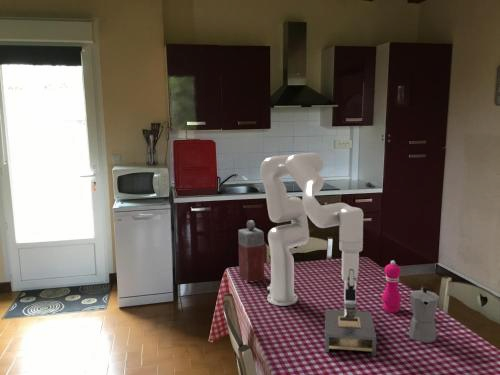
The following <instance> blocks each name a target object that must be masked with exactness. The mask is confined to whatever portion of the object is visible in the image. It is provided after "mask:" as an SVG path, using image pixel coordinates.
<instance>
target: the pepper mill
mask: <svg viewBox="0 0 500 375" xmlns="http://www.w3.org/2000/svg"><path fill="white" fill-rule="evenodd" d="M401 272H402V270H401V267H400V266H399V265H398V264H396V261H395V260H390V263H389V264H387V265H385V268H384V273H385V280H386V287H385V288H384V291H383V293H382V296H381V299H382V300H381V301H382V302H383V304H382V309H383V311H385V312H386V313H391V314H392V313H398V312H400V309H401V306H400V304H401V302H402V296H401V292H400V291H399V287H398V285H399V284H398V283H399V281H400V277H399V276H400V275H401Z"/></svg>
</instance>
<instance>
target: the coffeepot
mask: <svg viewBox="0 0 500 375" xmlns="http://www.w3.org/2000/svg"><path fill="white" fill-rule="evenodd" d="M409 297H410V306H411V307H410V308H411V312H412V313H413V314H412V318H411V322H410V326H409V329H408V332H407V333H408V336H409V337H410V338H411V339H412V340H414V341H416V342H420V343H426V344H427V343H429V344H430V343H433V342H435V341H436V340H437V337H438V334H437V326H436V321H435V316H436V314H437V310H438V306H439V302H440V296H439V295H438V294H437V293H436V292H432V291H429V290H428V287H427V286H425V285H421V287H420V289H419V290H418V289H417V290H413V291H412V292H411V293H409Z"/></svg>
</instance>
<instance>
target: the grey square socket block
mask: <svg viewBox="0 0 500 375" xmlns="http://www.w3.org/2000/svg"><path fill="white" fill-rule="evenodd" d="M324 315H325V316H324V323H325V324H324V353H325V354H326V353H327V354H328V353H330V349H331V350H345V351H347V350H348V351H358V352H359V351H361V352H370V353H371V356H372V357H377V334H376V330H375V326H374V320H373V317H372V316H373V315H372V312H371V311H361V310H360V311H359V310H356V317H355V318H346V317H344V309H343V310H342V309H341V310H340V309H326V308H325V310H324Z"/></svg>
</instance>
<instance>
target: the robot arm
mask: <svg viewBox="0 0 500 375" xmlns="http://www.w3.org/2000/svg"><path fill="white" fill-rule="evenodd" d="M323 169H324V161H323V159H322V157H321V156H320V155H319V154H318V153H315V152H305V153H296V154H295V153H294V154H285V155H284V154H283V155H274V156H271V157H270V156H269V157H266V158H265V159H264V160H263V161H262V163H261V165H260V168H259V170H260V172H259V173H260V178H261V181H262V184H263V187H264V191H265V198H266V206H267V212H268V217H269V220H270V221H271V222H272V223H285V222H289V221H290V222H291V223H289V224H282V225H278V226H275V227H272V228H271V229H270V230H269V231H268V234H267V241H268V246H269V252H270V253H269V254H270V256H269V257H270V284H268V285H269V286H267V287H266V290H268V291H269V294H268V295H267V298H266V299H267V301H268V303H270V304H271V305H275V306H278V307H281V306H282V307H286V306H291V305H294V304H296V303H297V302H298V300H299V298H298V295H297V294H296V293H295V260H294V256H293V254H292V253H291V252H290V249H292V248H295V247H300V246H304V245H306V244H307V243H308V242H309V238H310V230H309V222H308V218H309V220H310V221H311V222H312V223H313V224H314V225H315V226H316V227H317V228H320V229H325V228H331V227H336V226H339V228H338V229H339V230H338V231H339V232H338V233H339V236H338V239H339V242H338V243H339V244H338V246H339V251H341V272H340V273H341V279H342V281H343V282H344V280H345V281H346V294H345V299H346V300H347V301H355V295H356V296H357V288H356V289H355V281H356V282H357V281H358V278H359V264H360V263H359V262H360V261H359V259H360V254H359V253H361V252H362V251H363V250H364V249H363V248H364V245H363V244H364V240H363V239H364V212H363V209H362V208H360V207H355V206H351V205H349V204H348V203H345V202H336V203H329V204H324V205H322V204H320V203H319V202H318V200H317V199H316V197H315V195H316V194H318V193H319V192H320V191H321V190H322V188H323V186H324V183H325V181H324V178H323V177H322V175H320V173H321V172H322V170H323ZM283 177H284V178H286V177H291V178H292V179H293V181H294V182H295V183H296V184H297V185H298V188H300V190H301V191H302V192H303V193H302V199H301V198H300V197H297V196H290V197H289V196H288V193H287V187H286V185H285V183H284V181H282V180H281V179H280V178H283ZM348 278H349V280H348ZM353 278H354V280H353ZM348 282H349V284H348Z"/></svg>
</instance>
